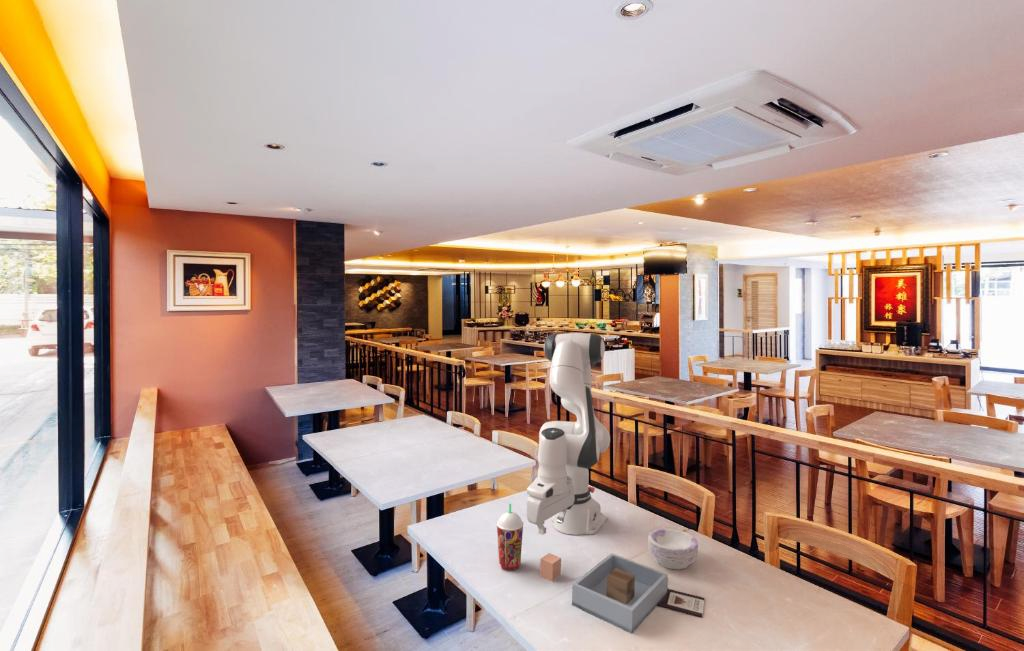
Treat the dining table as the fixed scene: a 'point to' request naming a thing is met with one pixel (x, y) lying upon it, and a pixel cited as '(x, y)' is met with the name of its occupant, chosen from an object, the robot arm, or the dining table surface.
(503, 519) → the smoothie
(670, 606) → the chocolate bar
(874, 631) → the dining table surface
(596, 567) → the tote
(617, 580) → the walnut block
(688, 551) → the paper bowls
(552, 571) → the terracotta box
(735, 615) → the dining table surface
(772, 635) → the dining table surface
